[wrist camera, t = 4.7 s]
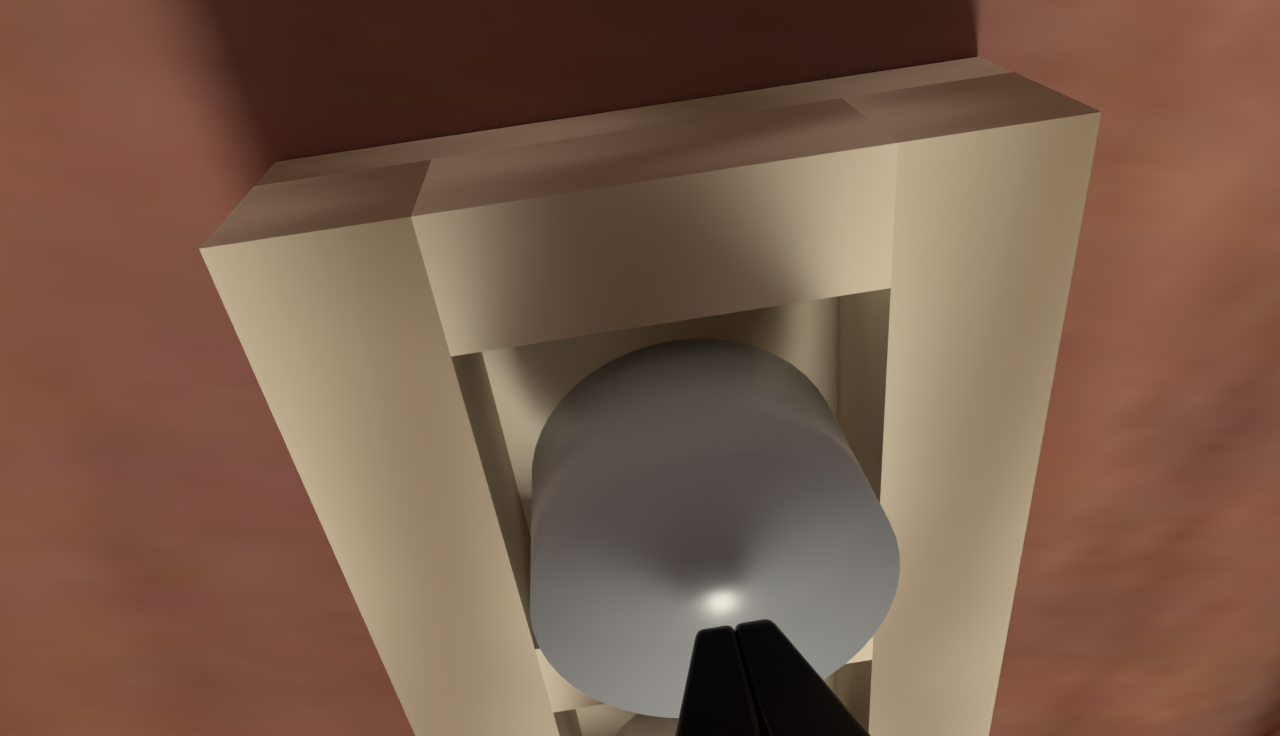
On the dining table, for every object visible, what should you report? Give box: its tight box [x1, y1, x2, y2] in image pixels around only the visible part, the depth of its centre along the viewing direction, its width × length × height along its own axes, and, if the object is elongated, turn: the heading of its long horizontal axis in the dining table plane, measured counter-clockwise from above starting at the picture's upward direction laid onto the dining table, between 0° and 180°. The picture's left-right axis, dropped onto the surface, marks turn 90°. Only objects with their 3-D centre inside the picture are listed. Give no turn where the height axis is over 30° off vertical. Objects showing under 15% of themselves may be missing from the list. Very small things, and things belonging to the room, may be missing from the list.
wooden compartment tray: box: [199, 57, 1101, 736], centre depth 16 cm, size 10×23×3 cm, turn 7°
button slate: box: [530, 339, 900, 718], centre depth 11 cm, size 4×4×2 cm
